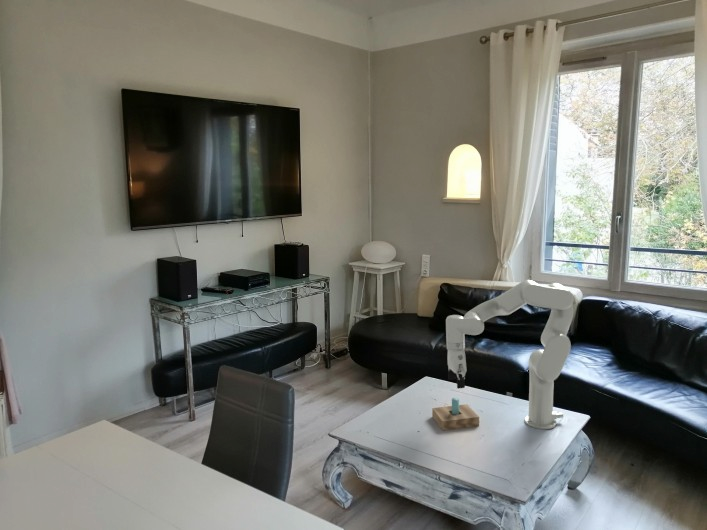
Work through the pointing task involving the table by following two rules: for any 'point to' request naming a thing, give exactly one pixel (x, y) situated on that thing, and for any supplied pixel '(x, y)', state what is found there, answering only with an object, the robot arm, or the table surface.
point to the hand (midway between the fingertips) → (456, 383)
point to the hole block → (455, 417)
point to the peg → (455, 406)
